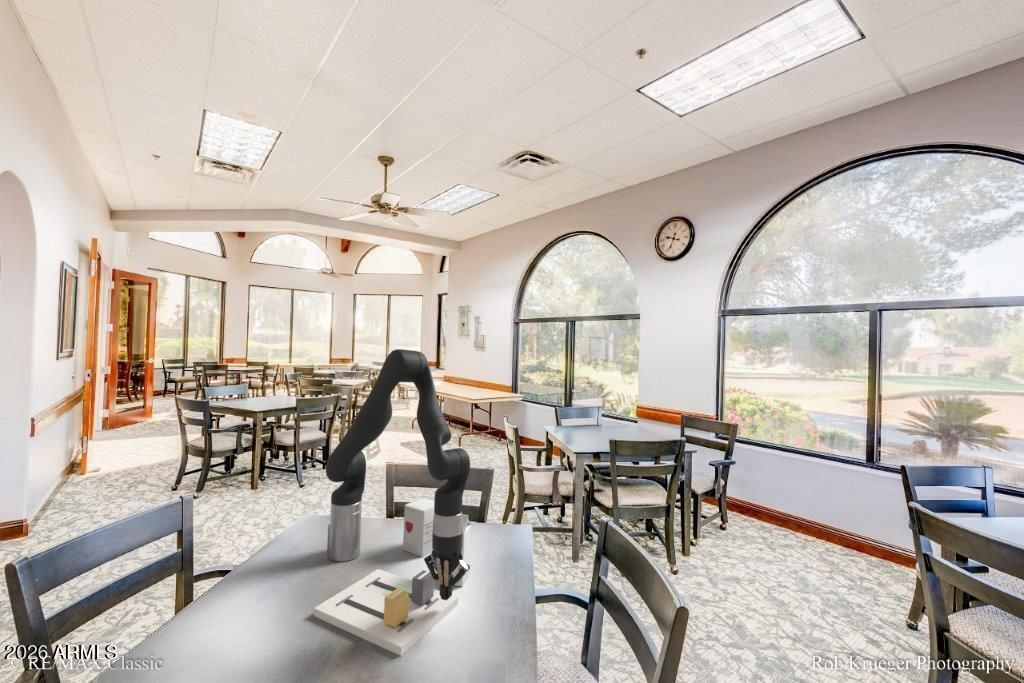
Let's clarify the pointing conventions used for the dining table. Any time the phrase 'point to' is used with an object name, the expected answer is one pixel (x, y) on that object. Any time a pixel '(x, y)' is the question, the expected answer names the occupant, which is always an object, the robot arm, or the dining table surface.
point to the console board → (365, 612)
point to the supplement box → (418, 527)
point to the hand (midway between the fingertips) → (445, 598)
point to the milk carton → (465, 548)
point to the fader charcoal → (422, 587)
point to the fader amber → (396, 607)
